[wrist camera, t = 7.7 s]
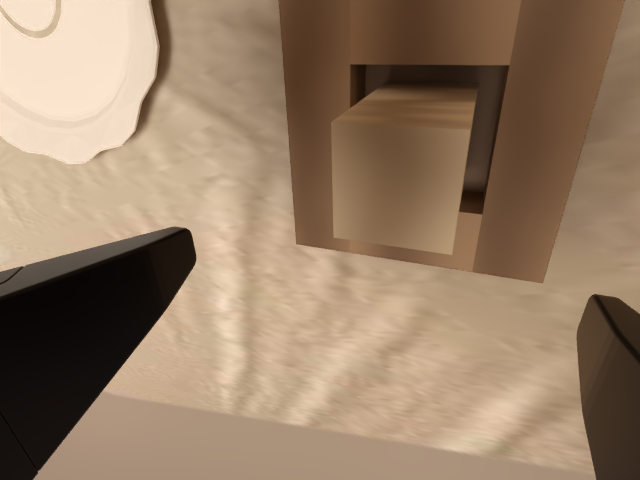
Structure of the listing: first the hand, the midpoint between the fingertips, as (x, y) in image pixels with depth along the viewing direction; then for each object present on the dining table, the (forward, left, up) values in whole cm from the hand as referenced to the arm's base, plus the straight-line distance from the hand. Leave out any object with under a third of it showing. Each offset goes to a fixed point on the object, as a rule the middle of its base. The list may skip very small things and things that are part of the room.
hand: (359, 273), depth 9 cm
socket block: (0, 0, -13) cm, 13 cm away
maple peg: (0, 0, -12) cm, 12 cm away
